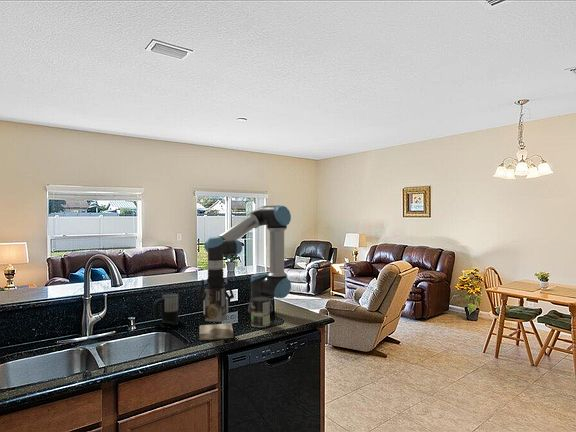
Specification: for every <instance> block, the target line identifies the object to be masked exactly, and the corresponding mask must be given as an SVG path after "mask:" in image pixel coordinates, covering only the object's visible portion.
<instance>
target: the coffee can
mask: <svg viewBox="0 0 576 432" xmlns="http://www.w3.org/2000/svg"><path fill="white" fill-rule="evenodd" d="M250 300H251V313H250V319H251V320H250V321H251V322H250V325H251V326H252V327H254V328H266V326H267V327H269V326H270V325H271V322H270V321H271V320H270V319H271V317H270V316H271V315H270V314H271V313H270V301H271V298H269V297H253V298H251V297H250Z"/></svg>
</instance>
